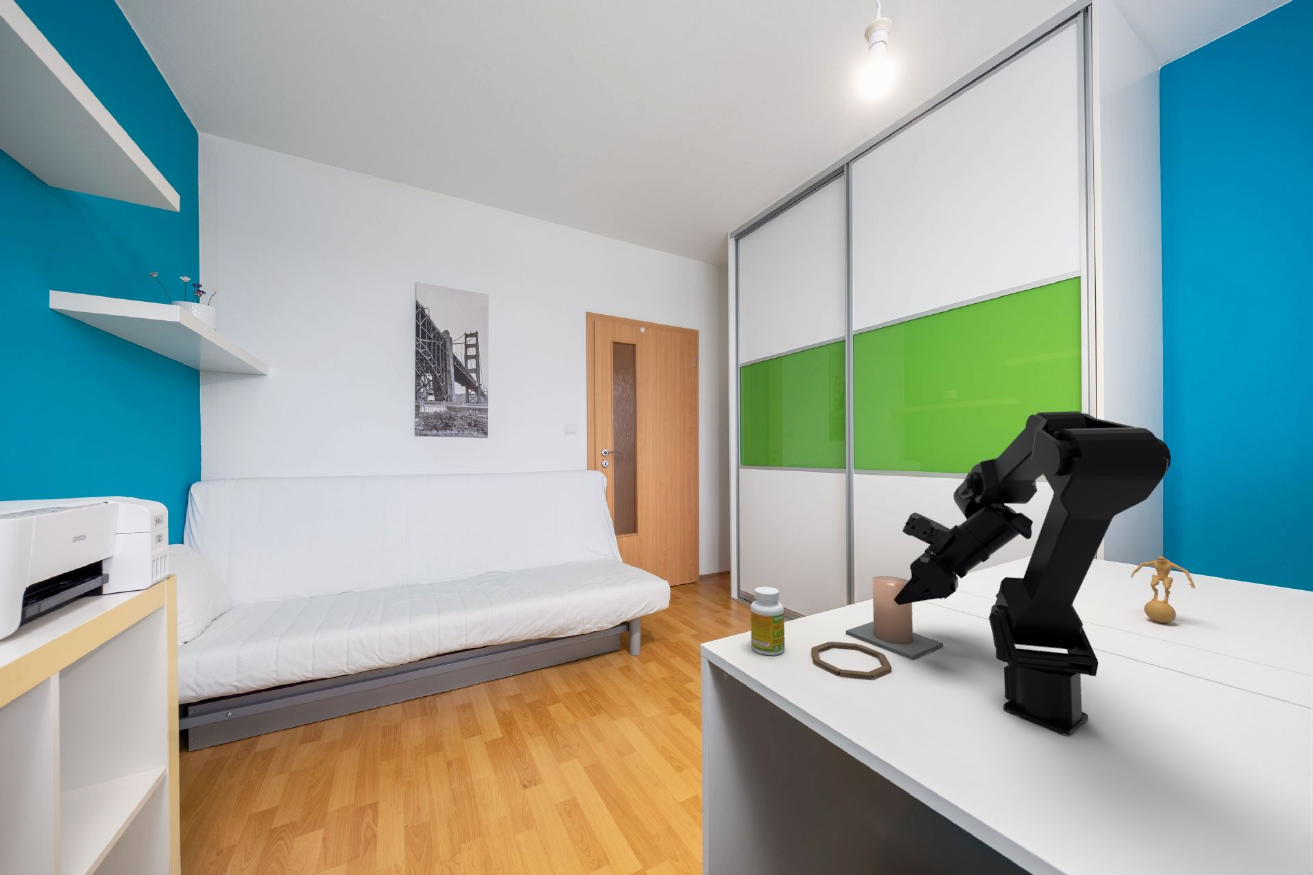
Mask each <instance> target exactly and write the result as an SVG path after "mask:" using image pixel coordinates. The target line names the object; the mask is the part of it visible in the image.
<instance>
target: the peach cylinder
mask: <svg viewBox="0 0 1313 875" xmlns="http://www.w3.org/2000/svg"><path fill="white" fill-rule="evenodd" d="M909 580H910V579H905V578H902V577H898V576H897V577H896V576H890V575H889V576H888V575H877V576H873V577H872V610H873V611H872V612H873V613H872V616H873V617H872V618H873V621H872V622H873V625H874V636H875V637H877V638H878V639H880V640H883V641H886V642H890V643H897V644H907V643H910V642H912V641H913V633H914V630H913V629H914V628H913V626H914V625H913V603H908V604H902V605H898V604H897V603H896V602H895V601H894V598H895V597H896V596H897V595H898V593H899V592H900V591H901V590H902V589H903V587H904V586H905V585H906V584H907V583H908V581H909Z"/></svg>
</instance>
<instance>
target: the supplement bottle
mask: <svg viewBox="0 0 1313 875" xmlns="http://www.w3.org/2000/svg"><path fill="white" fill-rule="evenodd" d="M754 599H755V600H754V601H752V603H751V604H750V636H751V637H750V639H751V640H750V641H751V644H750V645H751V649H752V650H753V651H754V652H755V653H758V654H760V655H762V656H763V655H764V656H778V655H781V654H783V653H784V652H785V646H786V645H785V644H786V643H785V638H786V637H785V609H784V605H783V604H782V603H781V602H779V601H780V591H779V589H777V588H775V587H771V586H760V587H758V586H757V587H755V588H754Z"/></svg>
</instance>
